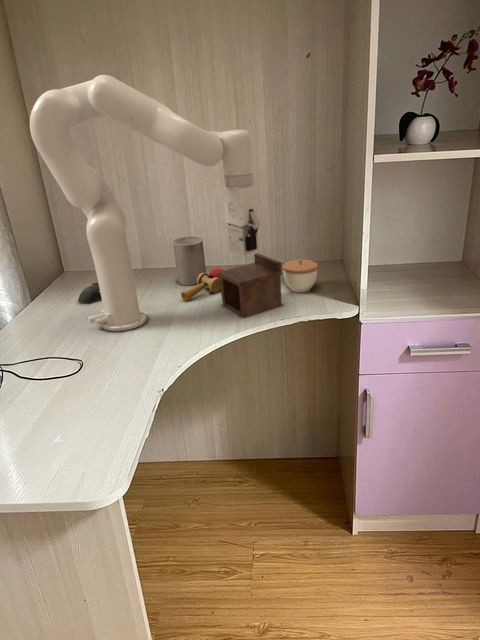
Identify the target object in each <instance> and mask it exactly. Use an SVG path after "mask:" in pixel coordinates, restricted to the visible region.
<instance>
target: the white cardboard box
mask: <svg viewBox="0 0 480 640" xmlns="http://www.w3.org/2000/svg"><path fill="white" fill-rule="evenodd" d="M248 224H250V223H248ZM248 229H249V230H250V229H251V227H248ZM245 237H246V233H245V228H244V227H238V226H235V225H228V226H227V238H228V251H229V252H230V253H234V254H238V255H242V256H246V255H249V254H252V253H254V252H258V251H259V250H260V247H259V245H260V244H259V230H258V231H257V235H256V242H257V249H256V250H252V251H246V243H245Z"/></svg>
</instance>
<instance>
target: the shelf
mask: <svg viewBox="0 0 480 640" xmlns="http://www.w3.org/2000/svg"><path fill="white" fill-rule="evenodd" d="M253 256H254V262H251V263H247V264H243V265H240V266H236V267H233V268H229V269H225V270H224V269H223V270H224V271H221V272H218V276H219V277H220V285H221V288H220V294H221V303H222V306H223V307H225V308H228V309H230V310H231V311H233V312H234V313H237V314H239V315H240V316H241V317H242V318H247V317H251V316H254V315H256V314H259V313H262V312H265V311H269V310H272V309H275V308H278V307H281V306H282V286H281V285H282V284H281V276H282V274H283V271H282V262H281V261H279V260H277V259H274V258H271V257H269V256H266V255H263V254H261V253H257V252H256V253H254V255H253Z"/></svg>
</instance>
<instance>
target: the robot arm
mask: <svg viewBox="0 0 480 640" xmlns="http://www.w3.org/2000/svg"><path fill="white" fill-rule="evenodd" d="M105 116H106V117H108V118H109V119H111V120H113V121H115V122H117V123H120V124H121V125H123V126H125V127H127V128H129V129H131V130H133V131H134V132H137V133H139V134H140V135H143V137H146V138H148V139H150V140H151V141H154V142H156V143H158V144H161V145H163V146H165V147H166V148H168V149H170V150H171V151H174V152H176V153H178V154H180V155H181V156H183V157H185V158H187V159H188V160H191V161H193V162H194V163H197V164H199V165H202V166H204V167H214V166H216V165H217V164H219V163H220V162H221V161H222V169H223V179H224V190H223V210H224V221H225V222H226V223H227V225H228V226H229V225H235V226H238V227H244V228H245V233H246V237H245V243H246V251H252V250H256V249H257V242H256V235H257V231H258V232H259V229H260V226H261V222H260V221H259V219H258V208H257V201H256V195H255V189H254V175H253V174H254V172H253V160H252V159H253V158H252V157H253V156H252V145H251V144H252V143H251V134H250V132H249V130H246V129H229V130H225V131H211V130H205V129H204V128H201V127H199V126H198V125H195V124H194V123H192V122H191V121H188V120H187V119H186V118H183V117H181V116H180V115H179V114H177V113H175V112H174V111H172V110H171V109H170V108H169V107H168V106H166V105H164V104H163V103H162V102H160V101H158V100H156V99H154V98H152V97H150V96H149V95H147V94H146V93H145V94H144V93H143V92H141V91H139V90H137V89H136V88H134V87H132V86H130V85H128V84H126V83H124V82H123V81H120V80H119V79H117V78H116V77H114V76H111V75H108V74H100V75H97V76H95V77H94V78H93V79H90V80H88V81H84V82H81V83H77V84H73V85H70V86H66V87H63V88H59V89H58V88H55V89H50V90H47V91H45V92H44V93H42V94H41V95H40V96H39V97H38V98H37V100H36V101H35V103H34V105H33V107H32V109H31V112H30V115H29V132H30V136H31V139H32V141H33V144H34V147H35V148H36V150H37V152H38V153H39V155H40V156H41V158H42V160H43V161H44V163H45V165H46V166H47V168H48V170H49V171H50V173H51V175H52V176H53V178H54V179H55V181H56V183H57V184H58V186H59V187H60V189H61V191H62V193H63V195H64V196H65V198H66V199H67V201H68V202H69V203H70V204H71V205H72V206H74V207H75V208H77V209H80V210H82V212H83V214H84V215H85V217H86V218H87V222H86V228H85V229H86V231H85V233H86V238H87V239H86V240H87V242H88V246H89V250H90V253H91V256H92V260H93V264H94V265H93V266H94V269H95V274H96V278H97V283H98V284H99V288H100V293H101V302H102V306H103V308H101V309H100V312H99V313H97V314H96V315H90V316H87V321H88V324H90V325H91V324H96V325H101V327H102V328H103V330H106V331H110V332H123V331H129V330H133V329H136V328H138V327H140V326H142V325H143V324H145V323H146V322H147V319H148V318H147V314H146V312H144V311H142V310H140V309H141V308H140V305H139V299H138V293H137V287H136V282H135V275H134V270H133V265H132V260H131V255H130V250H129V245H128V244H129V243H128V240H127V233H126V228H127V227H126V226H127V218H126V214H125V213H124V210H123V208H122V207H121V205H120V203H119V202H118V200H117V198H116V196H115V195H114V193H113V191H112V189H111V187H110V186H109V185H108V183H107V181H106V180H105V178H104V177H103V175H102V174H101V173H100V171H98V170H97V169H96V168H94V167H92V166H90V165H89V164H88V163H87V161H86V160H85V159H84V156H83V155H82V153H81V152H80V149H79V148H78V146H77V145H76V143H75V142H74V140H73V139H72V137H71V133H70V128H72V127H74V126H76V125H80V124H83V123H86V122H91V121H92V120H96V119H100V118H103V117H105ZM248 223H250V224H248ZM248 227H251V229H250V230H249V229H248Z"/></svg>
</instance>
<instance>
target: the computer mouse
mask: <svg viewBox="0 0 480 640" xmlns="http://www.w3.org/2000/svg"><path fill="white" fill-rule="evenodd" d="M100 300H102V298H101V293H100V288H99V284H98V282H94V283H91V284H88V286H87V287H85V288H83V290H82V291H81V293H80V294H79V297H78V299H77V301H78V302H79V303H81V304H91V303H94V302H95V303H96V302H97V301H100Z"/></svg>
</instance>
